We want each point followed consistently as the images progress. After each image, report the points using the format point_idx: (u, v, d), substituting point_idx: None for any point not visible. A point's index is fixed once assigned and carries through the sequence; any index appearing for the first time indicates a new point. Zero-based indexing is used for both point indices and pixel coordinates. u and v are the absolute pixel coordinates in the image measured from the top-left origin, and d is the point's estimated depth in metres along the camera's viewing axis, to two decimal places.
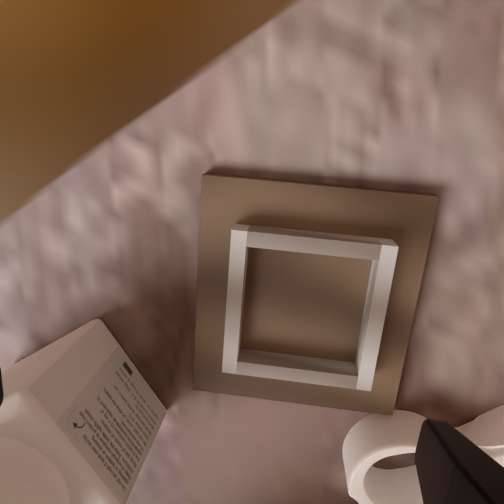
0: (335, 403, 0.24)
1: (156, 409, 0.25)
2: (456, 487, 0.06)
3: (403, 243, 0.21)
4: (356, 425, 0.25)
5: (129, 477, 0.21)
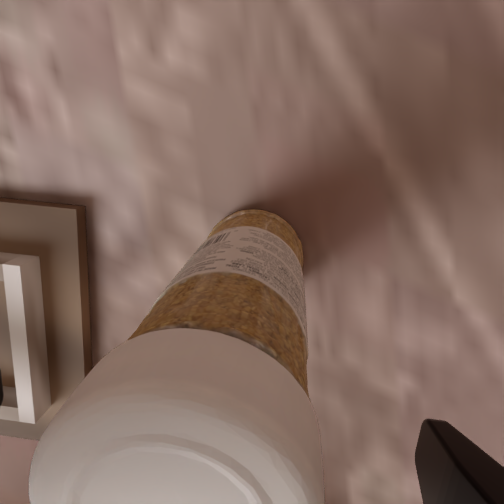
0: (27, 434, 0.22)
1: None
2: (456, 487, 0.06)
3: (52, 260, 0.19)
4: None
5: None
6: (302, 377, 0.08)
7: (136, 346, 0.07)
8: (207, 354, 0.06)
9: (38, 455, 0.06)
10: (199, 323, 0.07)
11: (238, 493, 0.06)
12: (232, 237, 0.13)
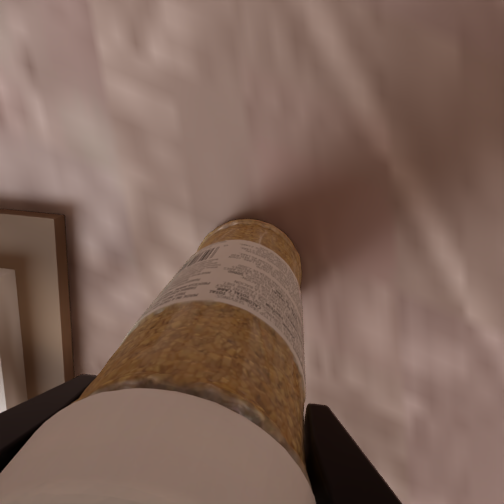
0: None
1: None
2: (311, 467, 0.07)
3: (28, 274, 0.17)
4: None
5: None
6: (297, 438, 0.07)
7: (80, 416, 0.05)
8: (169, 432, 0.05)
9: None
10: (166, 377, 0.06)
11: None
12: (221, 254, 0.12)
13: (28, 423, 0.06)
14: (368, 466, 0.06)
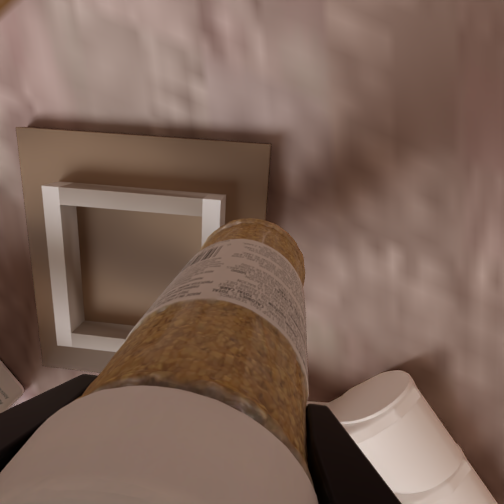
0: None
1: (8, 388, 0.24)
2: (311, 467, 0.07)
3: (238, 199, 0.19)
4: None
5: None
6: (300, 436, 0.07)
7: (82, 413, 0.05)
8: (171, 430, 0.05)
9: None
10: (169, 374, 0.06)
11: None
12: (224, 253, 0.12)
13: (28, 423, 0.06)
14: (368, 466, 0.06)
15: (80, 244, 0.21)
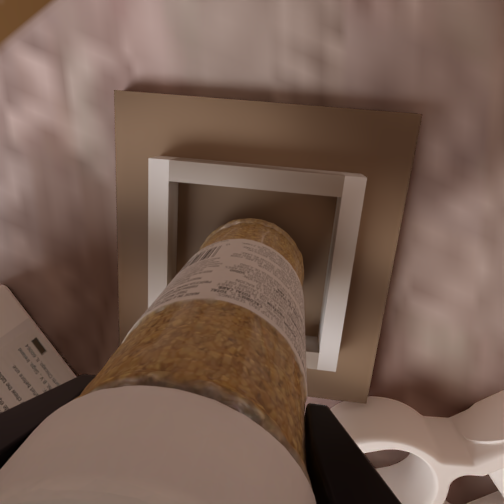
0: None
1: None
2: (311, 467, 0.07)
3: (376, 179, 0.16)
4: None
5: None
6: (298, 436, 0.07)
7: (80, 412, 0.05)
8: (168, 429, 0.05)
9: None
10: (166, 374, 0.06)
11: None
12: (223, 252, 0.12)
13: (28, 423, 0.06)
14: (368, 466, 0.06)
15: (178, 230, 0.18)
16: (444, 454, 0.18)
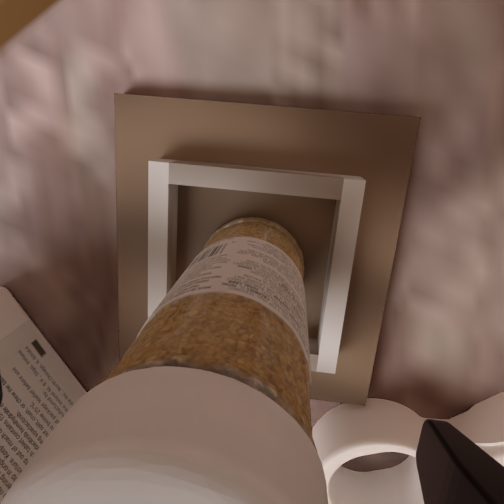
0: None
1: (77, 399, 0.21)
2: (457, 487, 0.06)
3: (374, 181, 0.16)
4: (323, 418, 0.20)
5: None
6: (305, 415, 0.07)
7: (116, 389, 0.06)
8: (197, 402, 0.05)
9: None
10: (189, 357, 0.07)
11: None
12: (229, 249, 0.12)
13: None
14: None
15: (178, 233, 0.18)
16: None
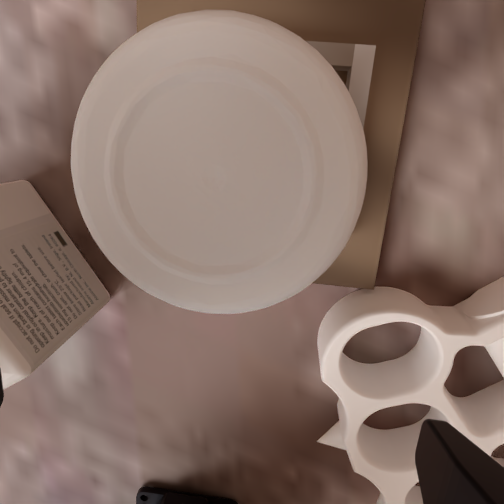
0: None
1: (96, 290, 0.21)
2: (456, 487, 0.06)
3: (383, 57, 0.17)
4: (332, 307, 0.21)
5: (46, 340, 0.17)
6: None
7: None
8: None
9: (83, 104, 0.06)
10: None
11: (284, 127, 0.06)
12: None
13: None
14: None
15: None
16: (448, 328, 0.19)
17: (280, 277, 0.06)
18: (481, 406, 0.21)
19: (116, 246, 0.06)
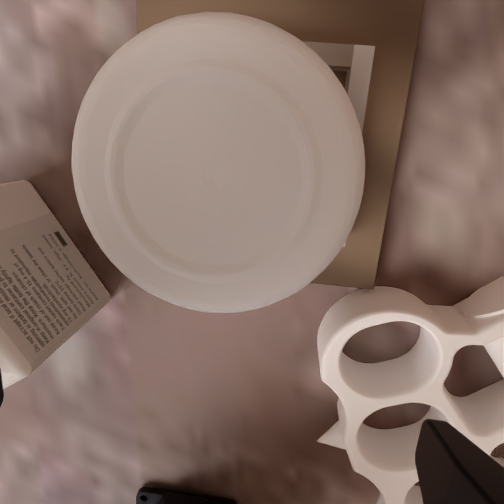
0: None
1: (96, 290, 0.21)
2: (456, 487, 0.06)
3: (382, 57, 0.17)
4: (332, 307, 0.21)
5: (46, 340, 0.17)
6: None
7: None
8: None
9: (83, 105, 0.06)
10: None
11: (282, 128, 0.06)
12: None
13: None
14: None
15: None
16: (448, 327, 0.19)
17: (279, 276, 0.06)
18: (481, 405, 0.21)
19: (116, 245, 0.06)
